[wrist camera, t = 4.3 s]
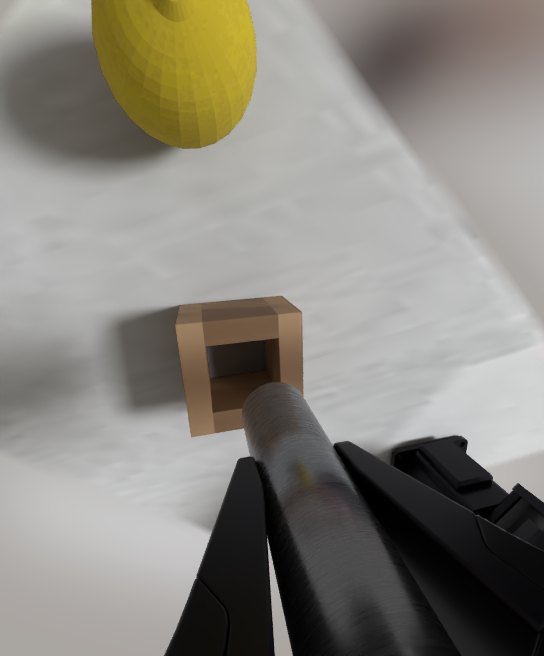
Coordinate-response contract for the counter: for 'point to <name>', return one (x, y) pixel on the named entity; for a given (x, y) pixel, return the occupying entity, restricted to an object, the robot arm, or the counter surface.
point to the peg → (331, 543)
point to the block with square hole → (234, 327)
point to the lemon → (178, 65)
